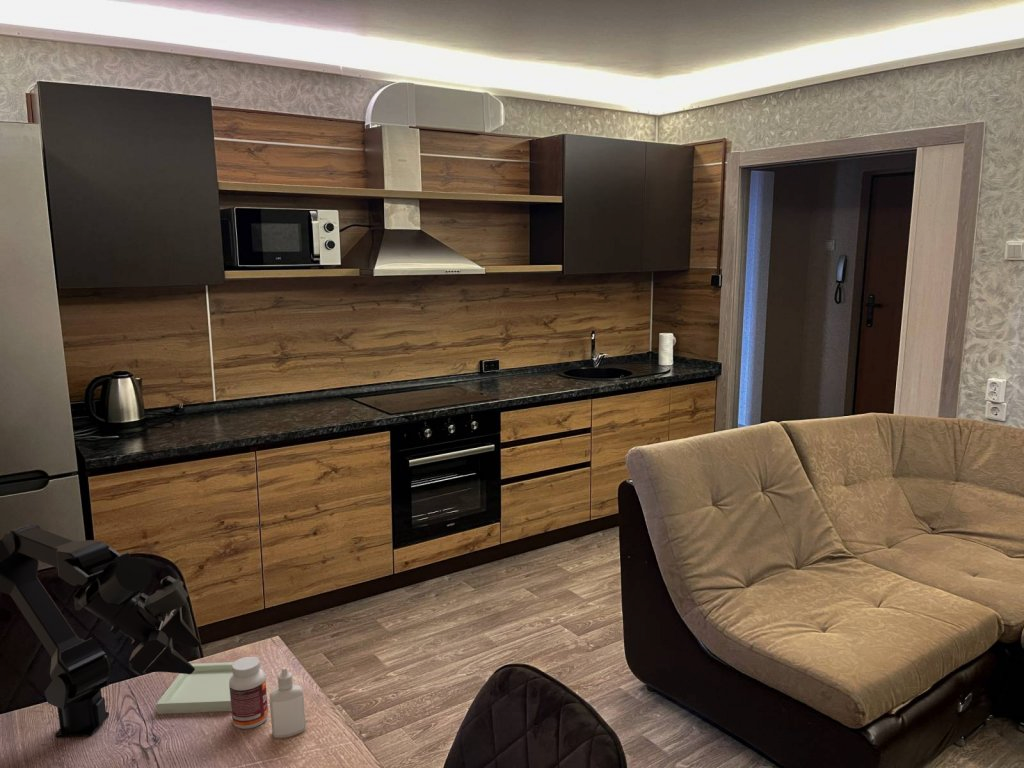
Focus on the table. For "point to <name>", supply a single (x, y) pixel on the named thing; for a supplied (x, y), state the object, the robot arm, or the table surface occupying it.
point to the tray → (199, 690)
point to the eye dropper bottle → (287, 707)
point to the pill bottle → (248, 693)
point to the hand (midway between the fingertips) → (196, 658)
